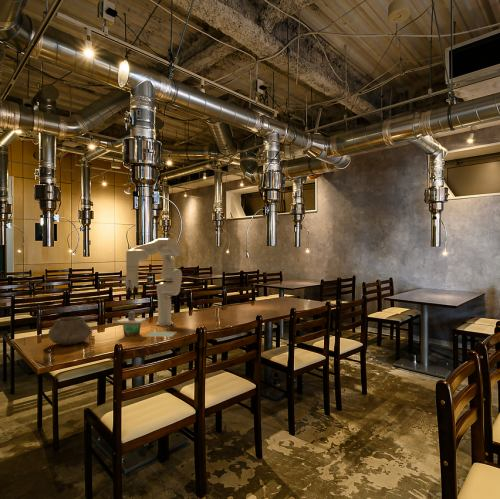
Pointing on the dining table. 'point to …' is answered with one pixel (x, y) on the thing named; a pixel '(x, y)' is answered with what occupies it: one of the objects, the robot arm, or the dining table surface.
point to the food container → (131, 329)
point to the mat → (161, 334)
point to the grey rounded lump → (69, 331)
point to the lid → (131, 319)
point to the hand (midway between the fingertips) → (132, 295)
